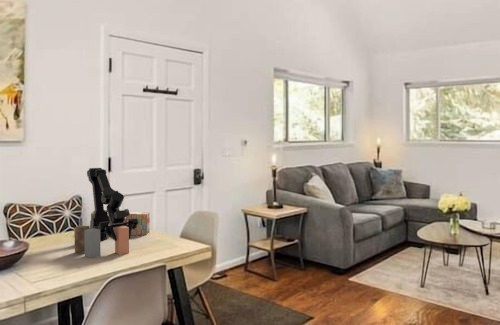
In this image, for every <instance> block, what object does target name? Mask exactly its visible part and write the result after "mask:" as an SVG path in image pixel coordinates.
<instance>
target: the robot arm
mask: <svg viewBox="0 0 500 325" xmlns="http://www.w3.org/2000/svg"><path fill="white" fill-rule="evenodd" d="M86 175H87V176H86V177H87V178H88V181H89V182H90V184H91V186H92V195H93V202H94V203H93V205H94V206H93V207H94V211H95V212H94V214H93V215H92V220H91V219H90V221H91V223H90V222H89V226H90V229H92V228H95V229H100V242H102V241H106V240H108V239H109V237H110V238H111V239H112V240H114V242H115V241H117V239H116V235H115V233H114V230H113V228H115V227H119V226H127V227H129V240H131V230H132V229H135V228H136V227H137V225H138V219H136V218H134V219H129V221H128V222H123V221H125V217H127V216H129V215H130V213H129V212H130V210H129V208H125V209H124V210H121V209H120V207H121V206H122V204H123V201H124V199H125V196H124V195H123V193H121V192H119V191H118V190H115V189H113V188H112V187H111V184H110V181H109V179H108V175H107V170H106V169H103V168H102V167H90V168H89V169H88V170H87V171H86ZM104 205H106V208H105V207H104ZM105 210H106V211H105ZM108 216H109V217H108ZM109 221H111V223H109ZM94 226H95V227H94ZM107 236H109V237H107Z"/></svg>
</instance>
